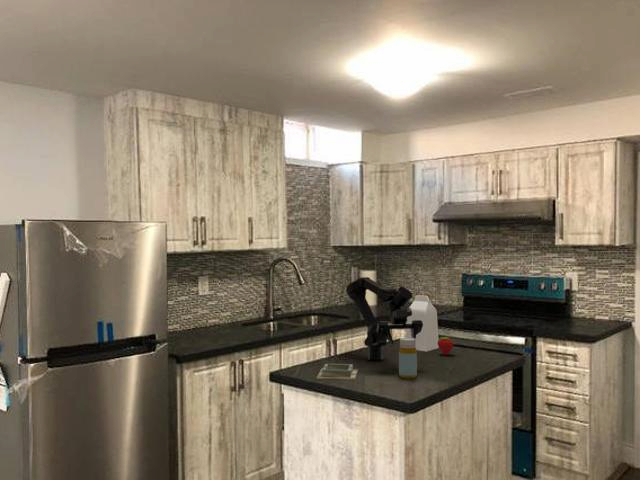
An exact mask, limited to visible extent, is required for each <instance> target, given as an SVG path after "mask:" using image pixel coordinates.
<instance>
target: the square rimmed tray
mask: <svg viewBox="0 0 640 480" xmlns="http://www.w3.org/2000/svg"><path fill="white" fill-rule="evenodd" d="M358 369H359V368H357V369H356V368H355V369H354V364H353V363H352V364H351V363H350V364H349V363H325V364H324V365H323V367H322V368H321V369H320V371H319V373H318V375H317V376H316V380H334V381H335V380H339V381H340V380H341V381H356V378H357V374H358Z"/></svg>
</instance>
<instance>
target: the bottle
mask: <svg viewBox="0 0 640 480" xmlns="http://www.w3.org/2000/svg"><path fill="white" fill-rule="evenodd" d="M398 375H399V377H400V378H402V379H406V380H407V379H410V380H411V379H415V378H416V377H417V376H418V350H416V339H415V338H406V337H400V339H399V350H398Z"/></svg>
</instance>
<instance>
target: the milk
mask: <svg viewBox="0 0 640 480" xmlns="http://www.w3.org/2000/svg"><path fill="white" fill-rule="evenodd" d="M431 302H432V301H430V299H429V295H422V294H421V295H419V294H417V295H416V296H415V297H414V301H412V303H411V305H410V306H409V307H408V308H411V310H412V315H411V316H408V317H407V322H406V324H412V321H413V320H421V321H422V322H423V327H422V330H421V332H420V333H418V334H416V350H417V351H420V352H426V353H427V352H429V351H433V350H437V349H439V347H438V344H437V343H438V341H439V340H440V339H439V326H438V313H437V312H438V311H437V309H436V308H435V306H434V305H433V304H432V303H431ZM405 330H406V332H405V338H412V336H411V329H405Z"/></svg>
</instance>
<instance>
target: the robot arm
mask: <svg viewBox="0 0 640 480" xmlns="http://www.w3.org/2000/svg"><path fill="white" fill-rule="evenodd" d="M397 289H398V290H397ZM397 289H396V288H393V287H390V286H384V285H382V284H380V283H378V282H377V281H374V280H373V279H371V278H370V277H369V276H363V277H359V278H358V279H356V280H355V281H352V282H351V283H349V284H348V285H347V287H346V293H347V295H348V297H349V299H351V300H352V301H353V302H355V304H356V306H357V308H358V311H359V312H360V314H361V316H362V317H361V318H363V321H364V322H365V325H366V327H367V330H366V335H367V336H366V338H364V341H363V343H364V346H365V347H368V358H367V360H368V361H376V362H377V361H378V362H379V361H380V362H382V361H383V360H384V359H383V358H384V357H383V354H382V353H383V351H382V350H383V348H382V347H383V346H387V341H388V342H389V343H390V345H392V346H393V345H394V340H393V339H394V338H393V337H392V334H391V333H392V332H391V330H406V329H411V336H412V338H415V339H416V334H418V333H420V332H421V330H422V327H423V322H422V321H421V320H413V321H412V324H407V317H408V316H411V315H412V310H411V308H409V307H406V306H407V304H408V303H409V301H410V300H411V299H412V298H413V293H412V291H410V290H409V289H407V288H405V286H399V288H397ZM367 290H368V291H370V292H371V293H373V294H375V295H376V296H377V299H378V300H379V301H381V302H382V303H387V305H386V308H385V310H386V311H388V312H389V316H390V317H389V318H390V319H389V320H390V322H391V323H389V321H388V320H381V321H379V320H377V319H376V317H375V315H374V312H373V310H372V309H371V307H370V304H369V303H368V300H367V298H366V295H367ZM404 307H406V308H404Z"/></svg>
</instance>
